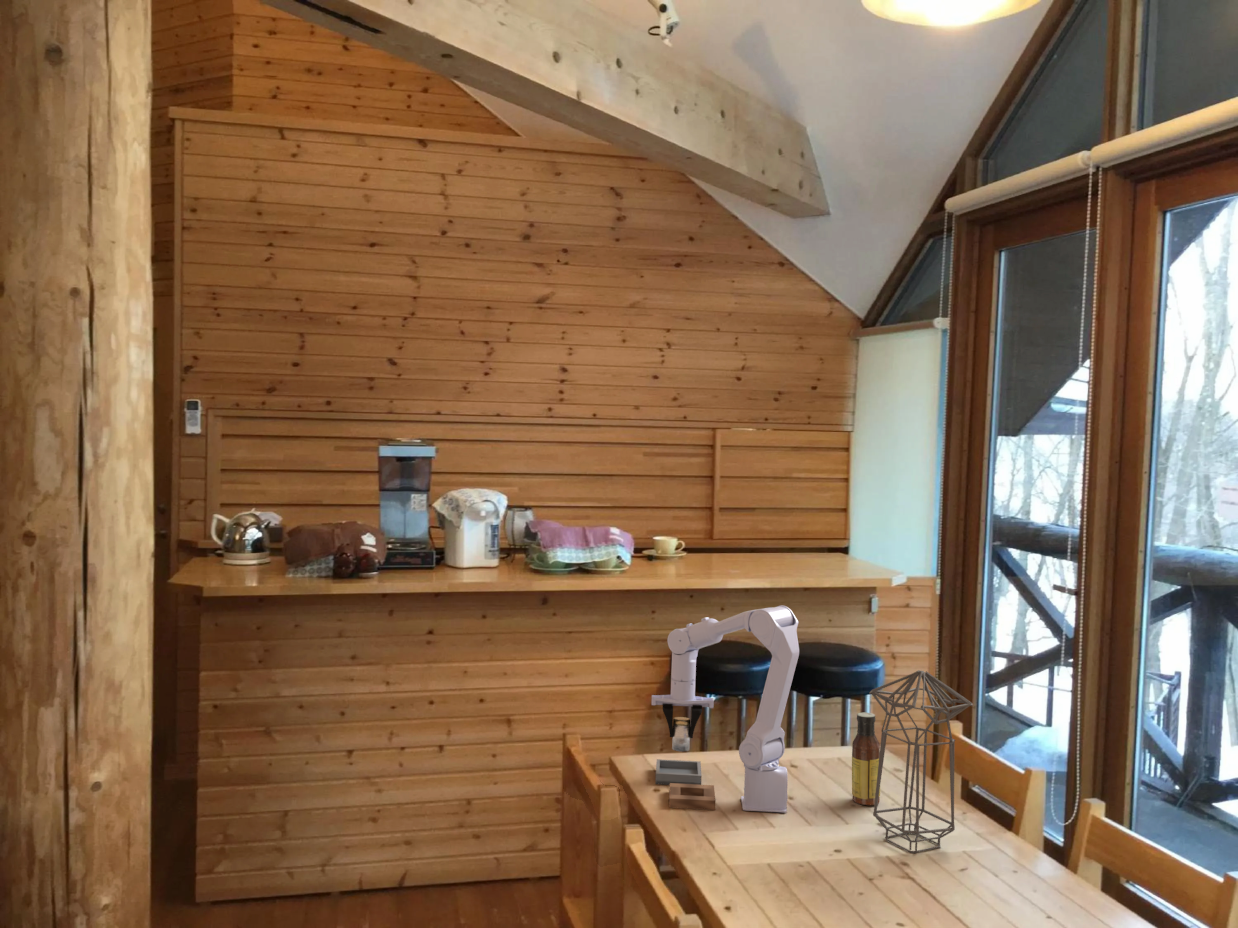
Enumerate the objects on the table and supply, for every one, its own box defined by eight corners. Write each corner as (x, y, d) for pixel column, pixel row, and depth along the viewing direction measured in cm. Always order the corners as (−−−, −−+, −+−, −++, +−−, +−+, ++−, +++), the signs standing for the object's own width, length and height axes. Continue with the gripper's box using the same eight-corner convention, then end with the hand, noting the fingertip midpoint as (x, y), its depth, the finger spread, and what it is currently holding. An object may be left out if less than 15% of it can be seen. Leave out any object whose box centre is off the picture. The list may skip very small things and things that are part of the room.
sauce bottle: (877, 797, 231) (881, 711, 230) (882, 807, 225) (885, 718, 224) (848, 796, 231) (851, 709, 231) (852, 805, 225) (855, 716, 225)
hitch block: (713, 793, 230) (713, 785, 230) (715, 809, 220) (715, 800, 220) (669, 791, 230) (669, 782, 230) (669, 807, 220) (669, 798, 220)
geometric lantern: (857, 834, 209) (865, 664, 209) (917, 826, 215) (924, 661, 216) (909, 862, 195) (918, 680, 195) (971, 853, 201) (980, 677, 201)
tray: (700, 771, 245) (700, 761, 245) (701, 786, 235) (701, 775, 235) (656, 769, 246) (656, 759, 246) (655, 783, 235) (655, 773, 235)
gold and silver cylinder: (689, 746, 240) (690, 717, 240) (689, 751, 236) (690, 721, 236) (672, 745, 240) (673, 716, 240) (672, 750, 236) (673, 721, 236)
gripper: (713, 676, 241) (711, 732, 242) (652, 673, 242) (650, 729, 242) (714, 683, 234) (712, 741, 235) (652, 680, 235) (650, 738, 235)
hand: (681, 736), depth 238 cm, fingers closed on gold and silver cylinder, 4 cm apart
